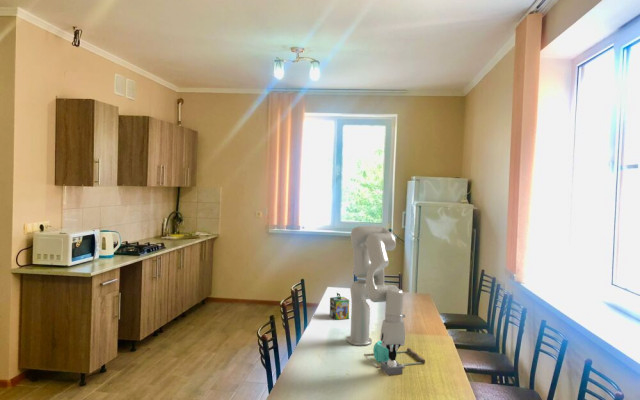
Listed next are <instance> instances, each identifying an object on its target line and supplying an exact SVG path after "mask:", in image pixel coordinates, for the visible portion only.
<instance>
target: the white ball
mask: <svg viewBox="0 0 640 400" xmlns="http://www.w3.org/2000/svg"><path fill="white" fill-rule="evenodd" d="M387 366H388V367H395V366H397V364H396V361H395V360H393V361H392V360H391V359H389V360H388V362H387Z"/></svg>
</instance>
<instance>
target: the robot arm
mask: <svg viewBox="0 0 640 400" xmlns="http://www.w3.org/2000/svg"><path fill="white" fill-rule="evenodd" d="M350 242H351V247H352V250H353V256H352V257H353V258H352V259H353V260H352V261H353V264H352V265H353V274H354V276H355V277H356V278H363V280H362V279H360V280H356V281H353V282H352V283H351V284H350V296H351V297H350V298H351V311H350V312H351V316H350V336H348V337H347V339H346V340H347V342H348V343H349V344H350V345H354V346H360V347H361V346H370V345H371V344H372V342H373V339H372V338H371V337H370V321H371V319H370V318H371V307H370V304H369V303H368V302H367V300H370V301H371V302H373V303H385V313H384V319H383V320H382V323H381V329H380V336H379V337H380V338H379V341H382V343H381V346H382V347H386V348H387V349H388V350H389V355H388V356H389V359H391V360H392V361H393V360H396V359H397V355H396V351H398V350H399V348H400V347H402V346H405V341H406V326H405V322H404V318H406V314H404V298H405V297H404V295H405V294H404V291H403V290H402V289H400V288H399V287H398V286H397V285H395V284H385V268H387V267H388V266H389V263H390V261H389V257H388V256H389V255H388V253H387V251H389V252H390V251H393V250H395V249H396V247H397V241H396V237H395V236H394V234H393V233H392V232H391V231H390V230H389V229H387V228H385V227H384V226H381V225H380V226H378V225H373V226H371V225H360V226H356V227H352V230H351V232H350ZM392 345H393V347H392Z"/></svg>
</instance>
